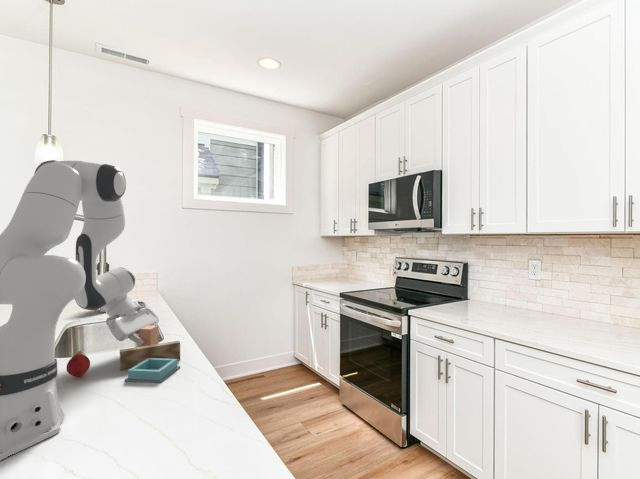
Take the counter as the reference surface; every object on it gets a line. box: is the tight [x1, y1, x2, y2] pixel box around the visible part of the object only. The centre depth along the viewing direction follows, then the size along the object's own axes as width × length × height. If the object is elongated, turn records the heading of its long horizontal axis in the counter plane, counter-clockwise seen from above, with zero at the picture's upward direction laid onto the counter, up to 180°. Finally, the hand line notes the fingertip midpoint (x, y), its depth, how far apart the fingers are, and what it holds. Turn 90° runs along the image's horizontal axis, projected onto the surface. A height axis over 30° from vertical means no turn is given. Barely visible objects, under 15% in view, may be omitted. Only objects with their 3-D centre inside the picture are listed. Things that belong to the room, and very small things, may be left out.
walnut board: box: [119, 340, 181, 372], centre depth 113 cm, size 18×2×6 cm, turn 121°
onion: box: [66, 350, 91, 379], centre depth 102 cm, size 6×6×8 cm
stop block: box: [137, 325, 159, 347], centre depth 121 cm, size 5×5×10 cm
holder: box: [124, 358, 181, 384], centre depth 104 cm, size 11×11×3 cm
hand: (150, 339), depth 121 cm, fingers open, 7 cm apart
